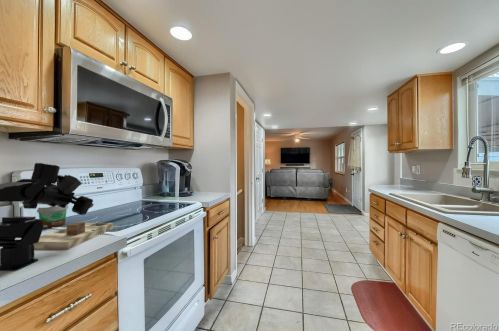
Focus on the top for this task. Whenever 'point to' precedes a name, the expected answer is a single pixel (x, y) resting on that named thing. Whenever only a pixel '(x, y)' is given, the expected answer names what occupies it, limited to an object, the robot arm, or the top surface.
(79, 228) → the walnut block
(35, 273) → the top surface
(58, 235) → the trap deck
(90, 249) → the top surface
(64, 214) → the food container
